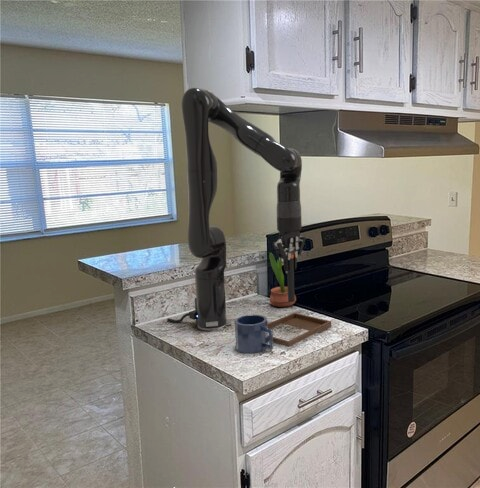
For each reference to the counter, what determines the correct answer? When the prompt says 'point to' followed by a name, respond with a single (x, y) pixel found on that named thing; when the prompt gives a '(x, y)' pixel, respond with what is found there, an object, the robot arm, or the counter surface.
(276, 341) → the tray
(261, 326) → the mug
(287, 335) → the counter surface
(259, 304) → the counter surface
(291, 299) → the marker
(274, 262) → the potted flower
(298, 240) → the robot arm
